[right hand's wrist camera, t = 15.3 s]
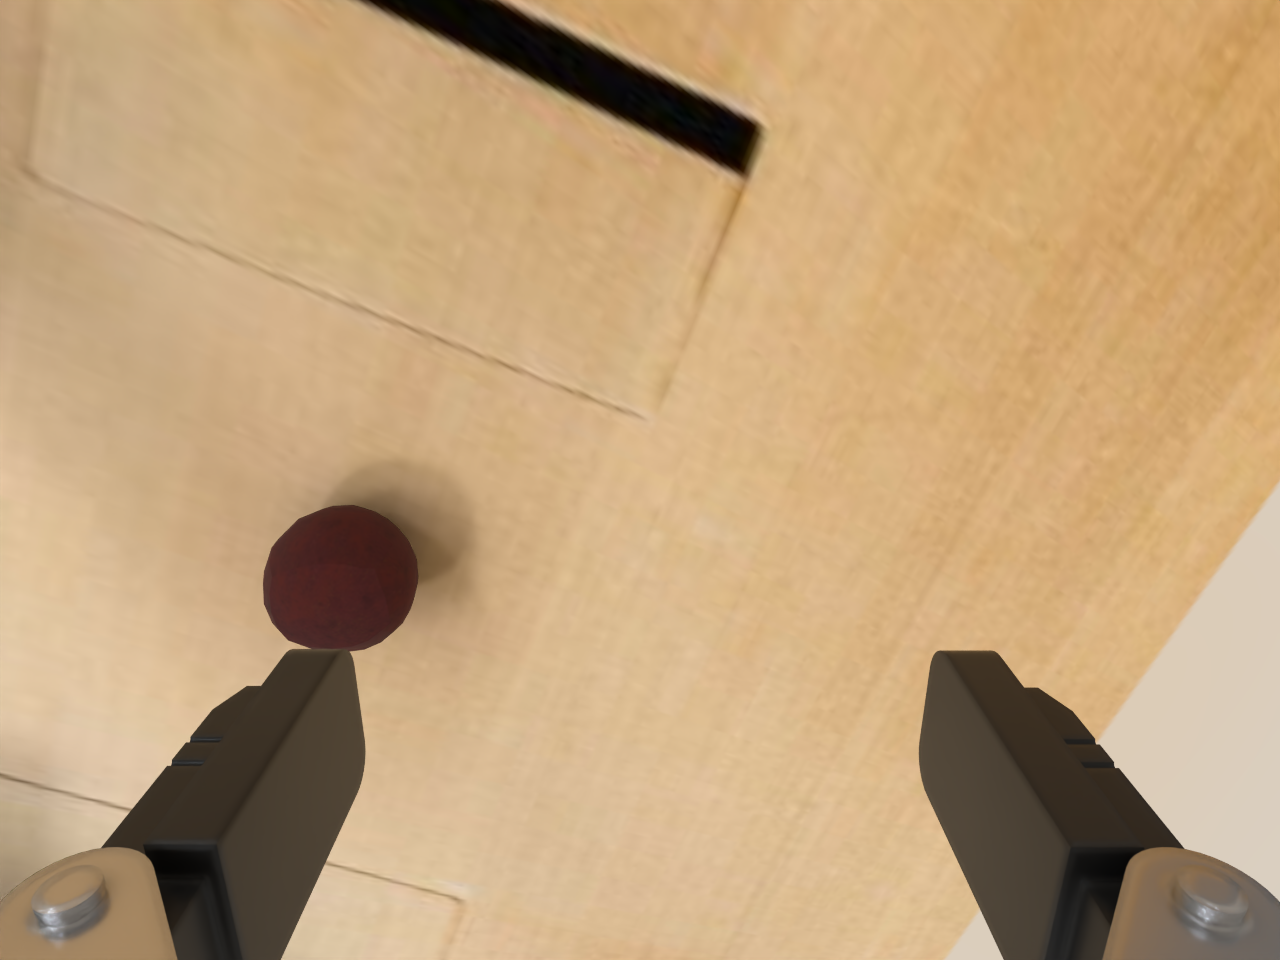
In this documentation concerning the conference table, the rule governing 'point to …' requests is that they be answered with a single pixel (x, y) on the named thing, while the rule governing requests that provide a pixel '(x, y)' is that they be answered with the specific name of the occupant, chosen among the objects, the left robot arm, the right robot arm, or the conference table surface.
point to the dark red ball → (340, 579)
